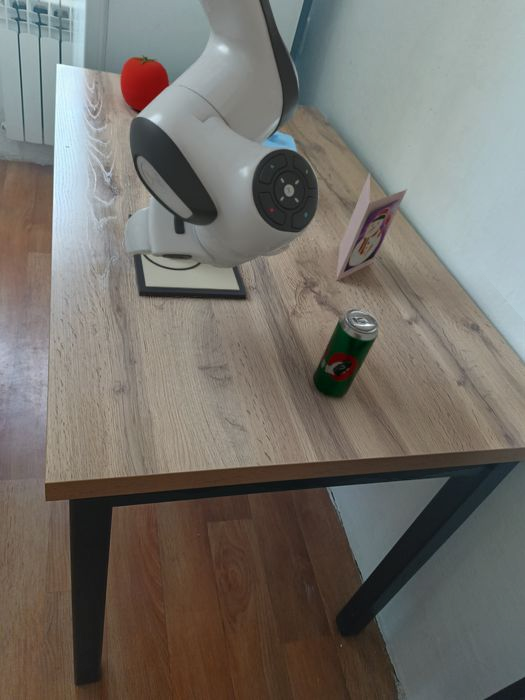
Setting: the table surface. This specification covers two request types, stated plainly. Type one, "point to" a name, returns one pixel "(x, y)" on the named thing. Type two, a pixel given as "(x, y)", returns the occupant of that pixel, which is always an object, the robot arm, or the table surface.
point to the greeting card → (366, 230)
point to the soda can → (345, 352)
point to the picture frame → (186, 278)
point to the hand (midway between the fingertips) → (193, 248)
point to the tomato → (142, 81)
